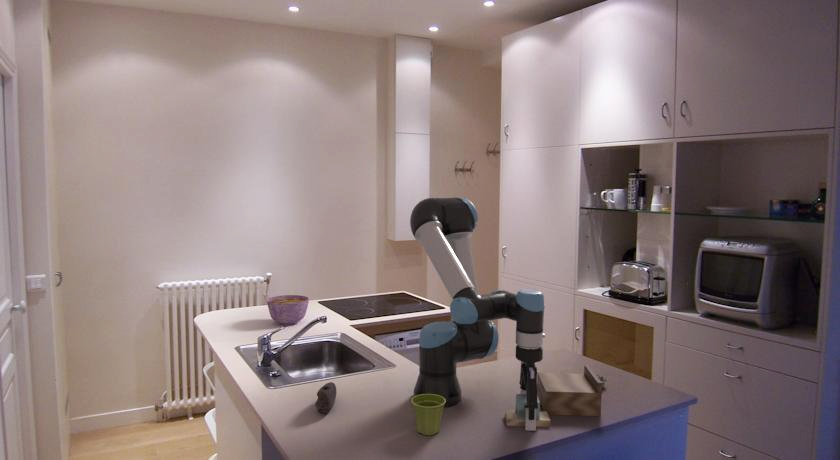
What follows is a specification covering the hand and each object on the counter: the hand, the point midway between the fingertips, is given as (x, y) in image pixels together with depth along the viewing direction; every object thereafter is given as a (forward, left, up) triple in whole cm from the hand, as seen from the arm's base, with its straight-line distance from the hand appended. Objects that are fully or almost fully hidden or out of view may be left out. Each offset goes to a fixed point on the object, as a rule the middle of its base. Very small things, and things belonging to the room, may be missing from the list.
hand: (527, 420), depth 156 cm
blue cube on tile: (0, 0, 0) cm, 0 cm away
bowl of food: (-100, +102, 0) cm, 143 cm away
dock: (+14, +13, 0) cm, 19 cm away
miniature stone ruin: (+25, +28, -1) cm, 38 cm away
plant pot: (-28, -8, 0) cm, 29 cm away
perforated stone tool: (-59, +6, -1) cm, 59 cm away
